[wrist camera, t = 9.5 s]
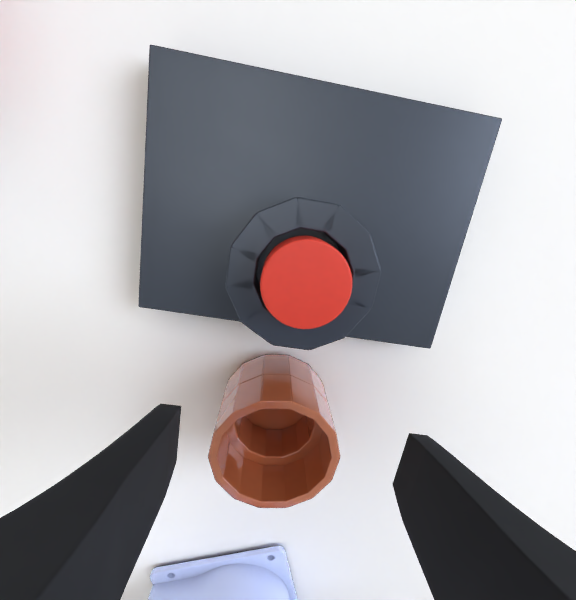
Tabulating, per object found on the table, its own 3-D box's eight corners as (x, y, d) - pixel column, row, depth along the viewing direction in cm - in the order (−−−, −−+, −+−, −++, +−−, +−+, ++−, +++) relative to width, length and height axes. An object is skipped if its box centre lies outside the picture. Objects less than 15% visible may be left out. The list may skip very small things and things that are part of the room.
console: (415, 340, 18) (447, 369, 15) (150, 302, 17) (120, 324, 14) (478, 127, 15) (535, 105, 12) (163, 62, 14) (129, 17, 11)
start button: (334, 321, 15) (342, 335, 13) (256, 309, 14) (253, 323, 13) (351, 242, 14) (362, 247, 12) (268, 228, 13) (267, 231, 12)
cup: (238, 444, 20) (227, 518, 15) (215, 359, 18) (193, 413, 13) (329, 427, 20) (347, 497, 15) (314, 340, 18) (328, 388, 13)
